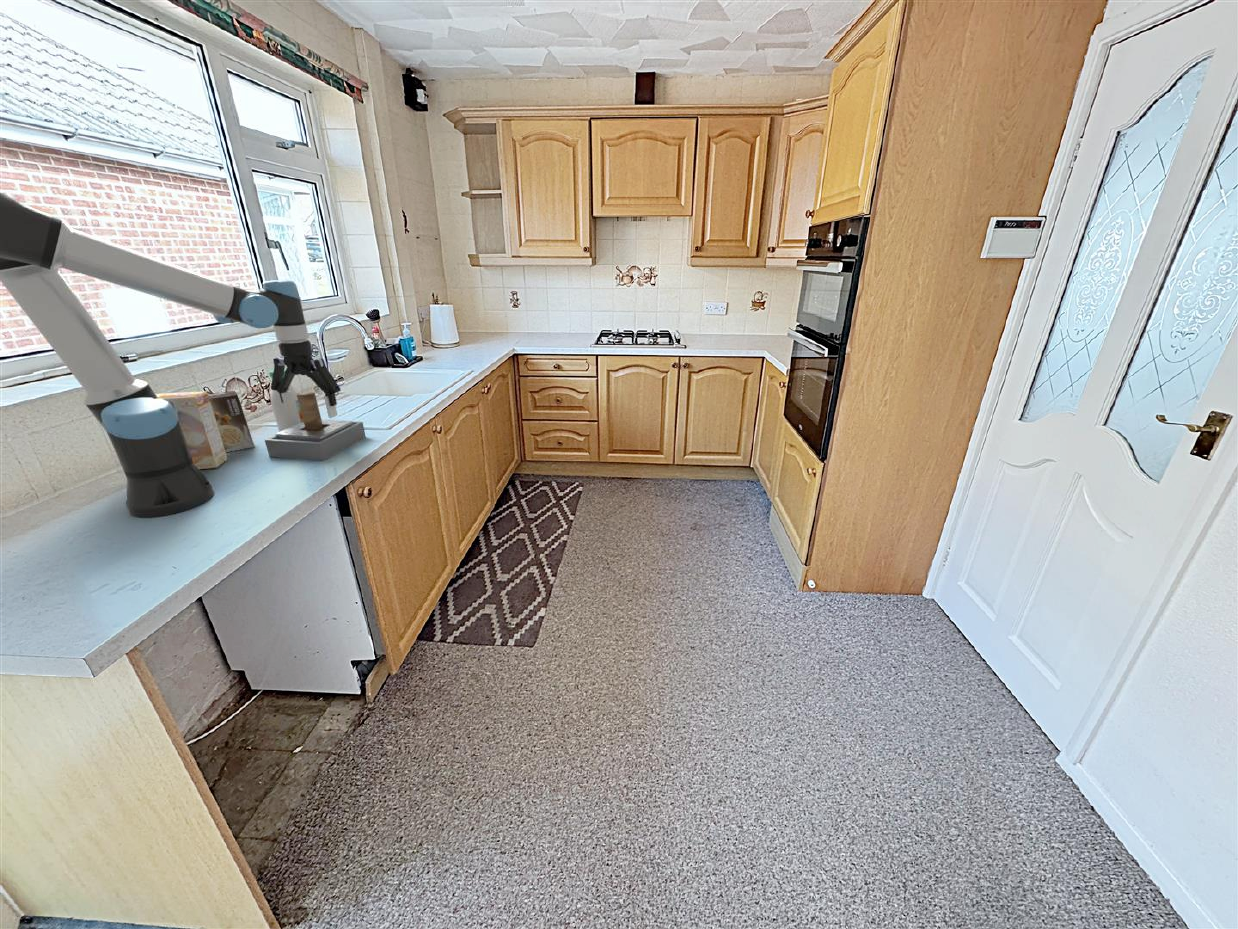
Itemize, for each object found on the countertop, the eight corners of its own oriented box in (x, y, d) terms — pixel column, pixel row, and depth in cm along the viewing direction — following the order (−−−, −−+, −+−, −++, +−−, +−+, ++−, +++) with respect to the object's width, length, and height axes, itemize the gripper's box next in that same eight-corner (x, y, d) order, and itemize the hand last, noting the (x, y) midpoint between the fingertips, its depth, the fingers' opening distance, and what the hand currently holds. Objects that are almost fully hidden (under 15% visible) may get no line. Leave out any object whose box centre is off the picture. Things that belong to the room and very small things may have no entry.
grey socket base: (323, 460, 139) (319, 443, 137) (269, 456, 141) (264, 439, 139) (365, 437, 156) (362, 421, 154) (316, 433, 158) (312, 418, 156)
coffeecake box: (149, 474, 129) (122, 400, 122) (165, 464, 135) (139, 393, 128) (217, 468, 133) (194, 396, 126) (228, 459, 139) (207, 390, 132)
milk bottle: (298, 436, 156) (282, 373, 148) (274, 436, 156) (256, 373, 148) (313, 428, 163) (297, 367, 155) (289, 428, 163) (273, 367, 155)
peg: (319, 446, 146) (307, 396, 140) (305, 445, 146) (292, 395, 140) (330, 440, 150) (318, 392, 144) (316, 440, 150) (304, 391, 145)
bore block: (324, 453, 141) (320, 436, 139) (279, 450, 143) (275, 433, 141) (355, 436, 153) (352, 421, 151) (314, 433, 155) (310, 418, 153)
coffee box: (251, 441, 152) (236, 389, 145) (255, 447, 147) (239, 394, 141) (214, 448, 146) (196, 395, 140) (216, 455, 142) (198, 400, 135)
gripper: (344, 339, 138) (359, 413, 146) (264, 336, 141) (283, 409, 150) (325, 344, 131) (342, 421, 140) (242, 341, 135) (263, 416, 143)
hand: (312, 415), depth 145 cm, fingers open, 13 cm apart
